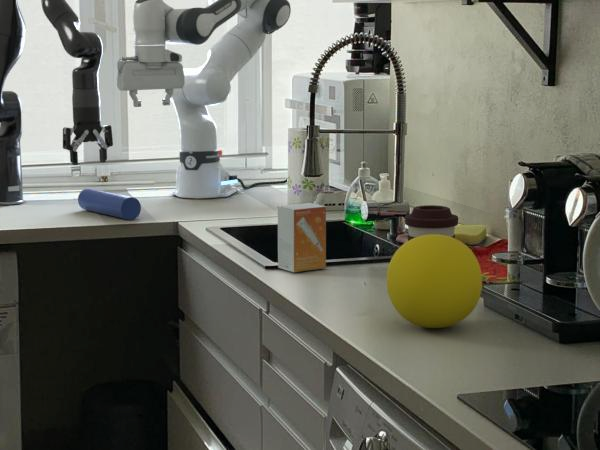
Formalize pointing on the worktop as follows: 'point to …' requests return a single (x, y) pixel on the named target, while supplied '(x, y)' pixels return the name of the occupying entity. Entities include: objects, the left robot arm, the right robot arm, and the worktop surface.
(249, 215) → the worktop surface
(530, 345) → the worktop surface
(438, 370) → the worktop surface
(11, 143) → the left robot arm
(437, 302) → the toy
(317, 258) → the small box
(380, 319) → the worktop surface
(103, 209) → the rod
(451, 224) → the coffee cup
